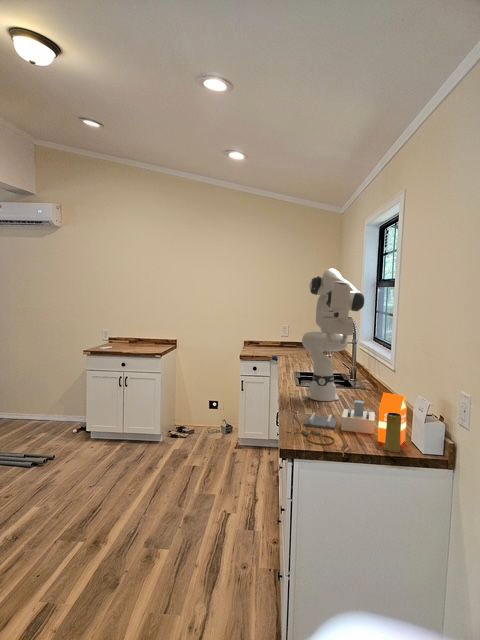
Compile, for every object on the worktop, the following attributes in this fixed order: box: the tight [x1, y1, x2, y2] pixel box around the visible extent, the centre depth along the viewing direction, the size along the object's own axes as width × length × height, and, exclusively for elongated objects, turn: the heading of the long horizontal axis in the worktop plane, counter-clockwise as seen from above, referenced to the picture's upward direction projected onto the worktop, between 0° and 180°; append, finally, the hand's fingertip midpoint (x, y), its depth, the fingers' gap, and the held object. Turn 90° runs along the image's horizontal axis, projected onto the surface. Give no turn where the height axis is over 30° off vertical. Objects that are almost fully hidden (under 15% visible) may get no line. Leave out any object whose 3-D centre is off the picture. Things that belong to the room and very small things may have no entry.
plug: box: [353, 399, 365, 416], centre depth 191 cm, size 4×4×6 cm
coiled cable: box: [301, 429, 335, 446], centre depth 176 cm, size 12×16×2 cm
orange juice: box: [377, 391, 408, 445], centre depth 174 cm, size 8×9×20 cm
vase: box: [383, 412, 402, 453], centre depth 164 cm, size 6×6×14 cm
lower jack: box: [303, 411, 338, 430], centre depth 197 cm, size 14×14×3 cm
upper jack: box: [340, 405, 376, 435], centre depth 192 cm, size 14×14×8 cm
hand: (336, 343), depth 200 cm, fingers open, 8 cm apart
